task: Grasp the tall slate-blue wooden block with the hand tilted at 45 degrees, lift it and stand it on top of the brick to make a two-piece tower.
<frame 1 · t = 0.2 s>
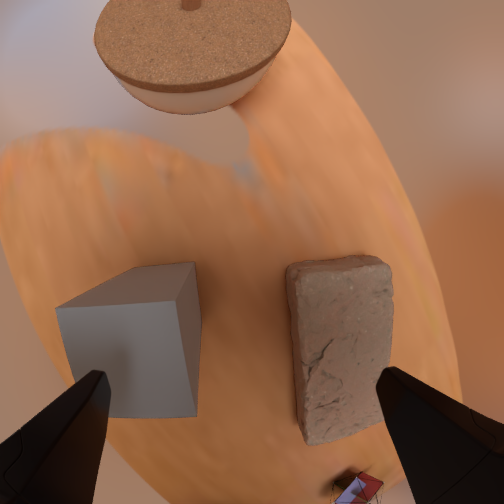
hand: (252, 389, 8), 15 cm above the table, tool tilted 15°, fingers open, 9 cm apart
brick: (330, 344, 25), on the table
lidded bowl: (194, 74, 22), on the table
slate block: (167, 295, 22), on the table
geometric puzzle: (346, 480, 27), on the table
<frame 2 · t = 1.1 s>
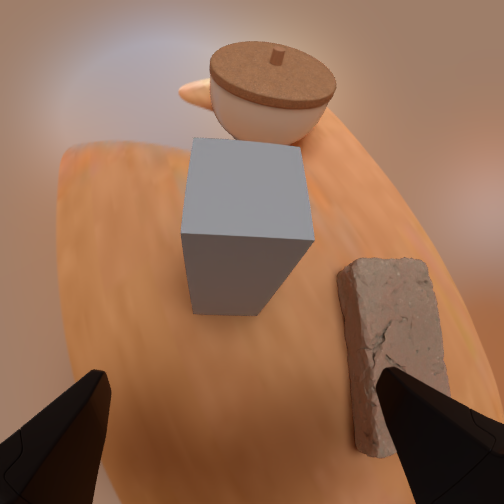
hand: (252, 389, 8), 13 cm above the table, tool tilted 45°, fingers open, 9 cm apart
brick: (381, 356, 23), on the table
lidded bowl: (259, 130, 32), on the table
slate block: (225, 284, 23), on the table
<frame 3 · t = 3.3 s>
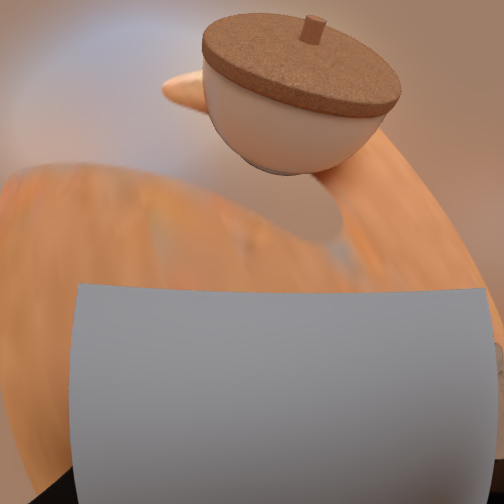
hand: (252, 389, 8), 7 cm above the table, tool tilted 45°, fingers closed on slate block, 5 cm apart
brick: (434, 460, 13), on the table
lidded bowl: (276, 144, 22), on the table
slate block: (233, 410, 13), on the table, touching gripper
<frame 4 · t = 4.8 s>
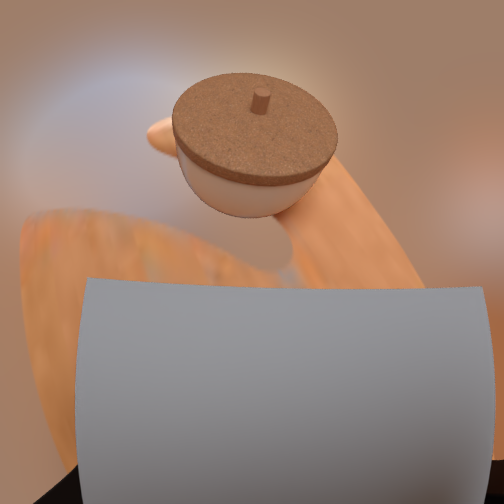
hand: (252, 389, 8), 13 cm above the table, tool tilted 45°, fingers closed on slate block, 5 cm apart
lidded bowl: (242, 186, 28), on the table
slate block: (235, 410, 13), point 7 cm above the table, touching gripper
when the fingers open (13 cm above the table, at t = 6.5 s): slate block drops 2 cm, resting on brick.
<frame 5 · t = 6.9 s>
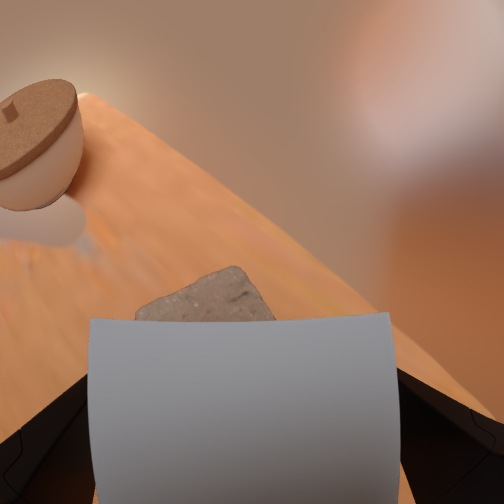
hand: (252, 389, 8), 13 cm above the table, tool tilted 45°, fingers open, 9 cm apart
brick: (238, 391, 20), on the table, touching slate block
lidded bowl: (46, 182, 24), on the table
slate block: (231, 405, 15), point 4 cm above the table, touching brick
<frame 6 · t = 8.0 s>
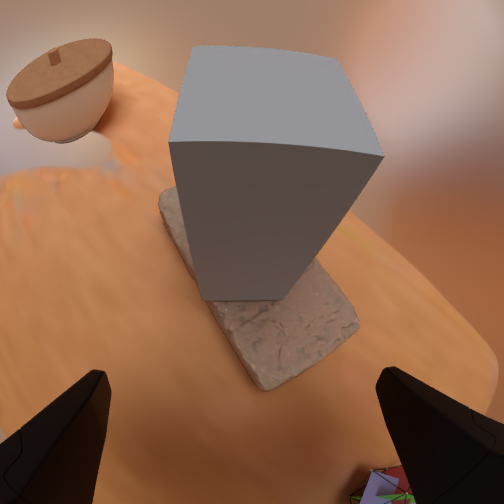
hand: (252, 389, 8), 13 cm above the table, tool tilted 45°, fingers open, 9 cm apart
brick: (245, 278, 24), on the table, touching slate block
lidded bowl: (75, 124, 28), on the table
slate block: (241, 262, 19), point 4 cm above the table, touching brick
geometric puzzle: (371, 489, 17), on the table
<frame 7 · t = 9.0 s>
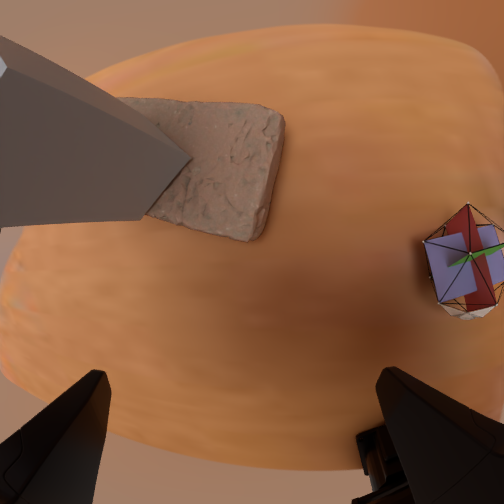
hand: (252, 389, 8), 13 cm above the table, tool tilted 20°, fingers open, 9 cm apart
brick: (172, 166, 21), on the table
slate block: (139, 164, 17), point 4 cm above the table
geometric puzzle: (447, 256, 19), on the table
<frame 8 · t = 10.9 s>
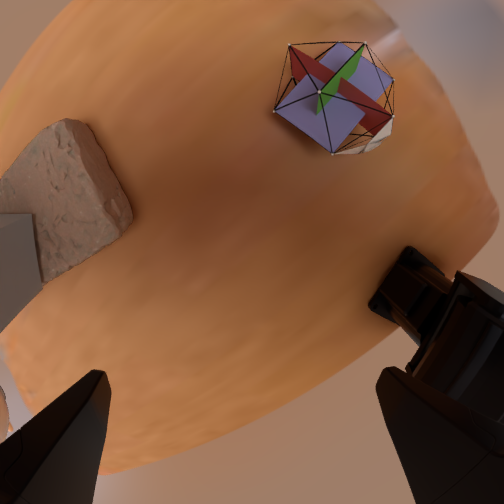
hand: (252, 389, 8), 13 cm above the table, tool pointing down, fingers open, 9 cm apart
brick: (40, 224, 18), on the table
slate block: (10, 250, 14), point 4 cm above the table
geometric puzzle: (317, 99, 17), on the table
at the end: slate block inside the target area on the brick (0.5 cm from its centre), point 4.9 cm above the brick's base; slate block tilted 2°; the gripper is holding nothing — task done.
